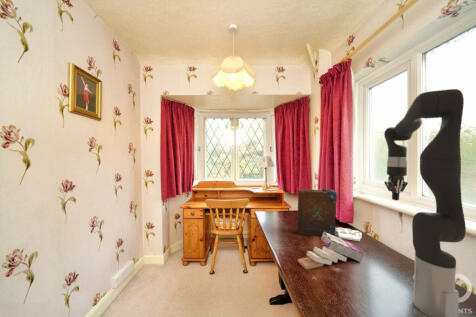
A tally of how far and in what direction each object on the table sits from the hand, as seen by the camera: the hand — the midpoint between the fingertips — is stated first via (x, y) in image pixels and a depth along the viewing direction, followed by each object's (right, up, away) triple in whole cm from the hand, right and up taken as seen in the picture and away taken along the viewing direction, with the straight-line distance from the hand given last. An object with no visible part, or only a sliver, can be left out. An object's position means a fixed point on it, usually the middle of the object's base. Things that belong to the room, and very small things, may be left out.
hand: (395, 199), depth 89 cm
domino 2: (-37, -29, -3) cm, 47 cm away
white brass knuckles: (-8, -31, +28) cm, 43 cm away
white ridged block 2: (-33, -29, -1) cm, 44 cm away
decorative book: (-28, -30, +30) cm, 51 cm away
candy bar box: (-18, -28, +2) cm, 34 cm away
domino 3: (-28, -29, 0) cm, 40 cm away
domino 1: (-41, -29, -3) cm, 50 cm away
